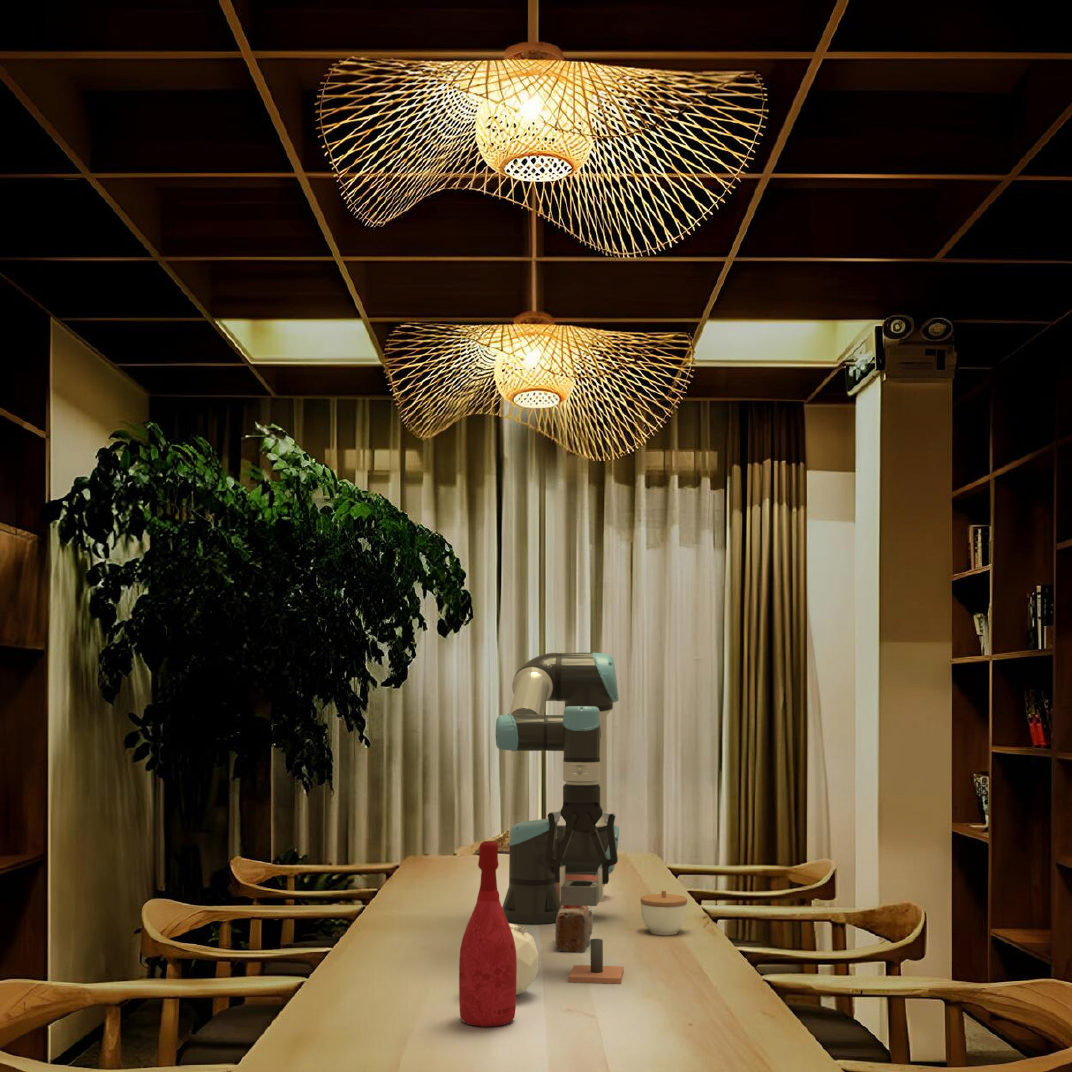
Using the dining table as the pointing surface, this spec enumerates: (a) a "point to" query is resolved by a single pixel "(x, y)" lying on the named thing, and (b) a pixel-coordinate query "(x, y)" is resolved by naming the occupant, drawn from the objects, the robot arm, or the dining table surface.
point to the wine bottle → (487, 953)
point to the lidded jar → (663, 912)
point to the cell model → (578, 877)
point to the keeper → (596, 968)
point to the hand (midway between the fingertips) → (581, 900)
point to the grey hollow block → (579, 893)
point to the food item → (573, 928)
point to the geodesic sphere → (524, 958)
